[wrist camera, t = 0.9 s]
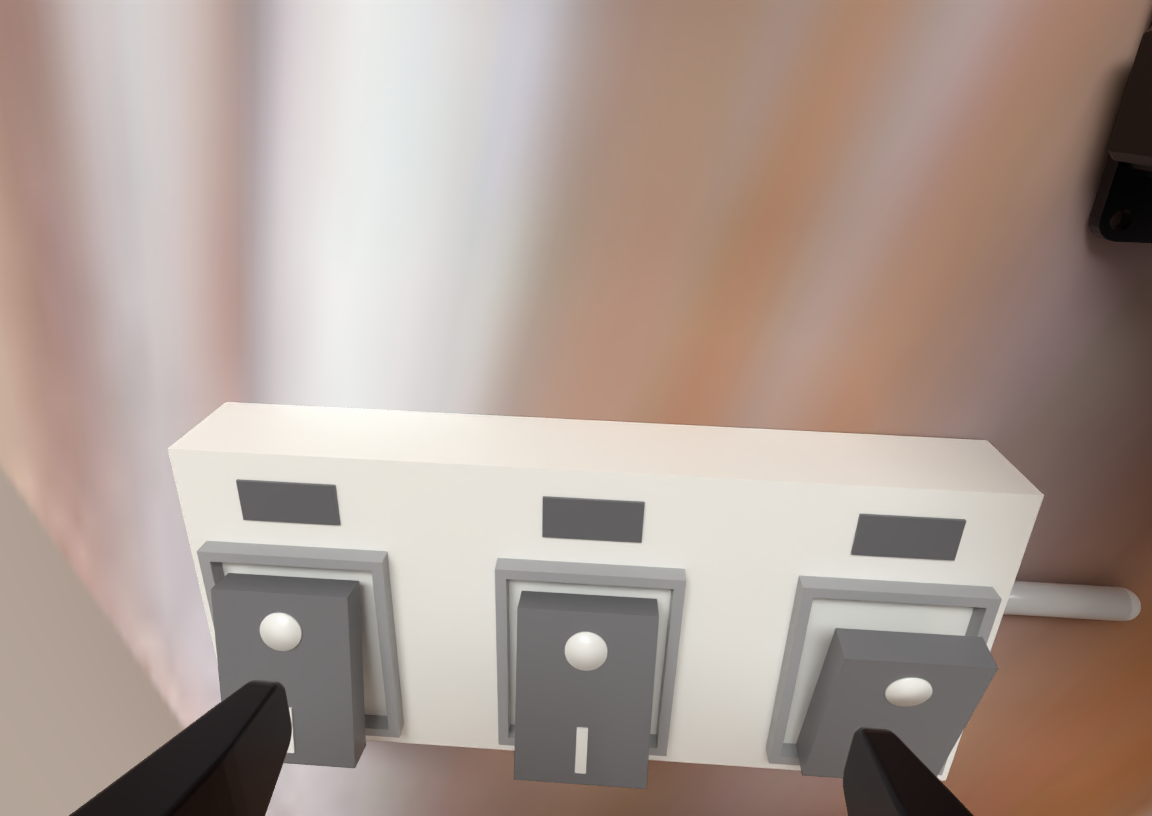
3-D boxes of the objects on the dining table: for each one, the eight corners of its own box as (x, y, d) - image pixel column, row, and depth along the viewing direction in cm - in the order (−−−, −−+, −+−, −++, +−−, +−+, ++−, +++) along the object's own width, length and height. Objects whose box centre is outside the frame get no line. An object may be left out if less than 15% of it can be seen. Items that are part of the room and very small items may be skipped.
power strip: (1187, 450, 20) (1295, 519, 17) (1075, 713, 24) (1144, 809, 21) (226, 401, 21) (156, 458, 18) (274, 661, 25) (224, 744, 22)
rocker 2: (982, 636, 18) (999, 670, 17) (921, 753, 21) (933, 786, 20) (835, 627, 18) (845, 660, 17) (795, 744, 21) (802, 777, 20)
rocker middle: (657, 598, 19) (658, 617, 18) (644, 764, 20) (646, 790, 19) (522, 590, 19) (516, 609, 18) (518, 755, 20) (513, 781, 19)
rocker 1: (359, 580, 19) (346, 598, 18) (366, 745, 21) (354, 769, 20) (228, 572, 19) (209, 590, 18) (243, 736, 21) (226, 760, 20)
